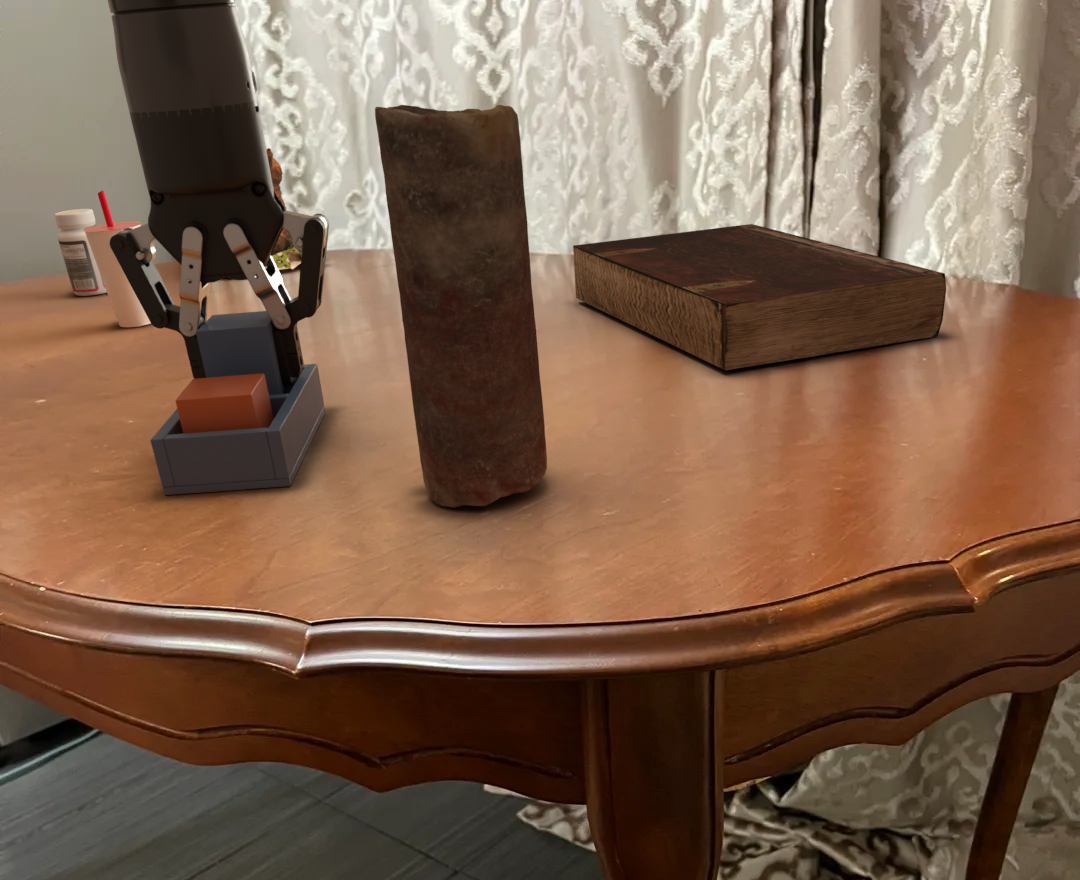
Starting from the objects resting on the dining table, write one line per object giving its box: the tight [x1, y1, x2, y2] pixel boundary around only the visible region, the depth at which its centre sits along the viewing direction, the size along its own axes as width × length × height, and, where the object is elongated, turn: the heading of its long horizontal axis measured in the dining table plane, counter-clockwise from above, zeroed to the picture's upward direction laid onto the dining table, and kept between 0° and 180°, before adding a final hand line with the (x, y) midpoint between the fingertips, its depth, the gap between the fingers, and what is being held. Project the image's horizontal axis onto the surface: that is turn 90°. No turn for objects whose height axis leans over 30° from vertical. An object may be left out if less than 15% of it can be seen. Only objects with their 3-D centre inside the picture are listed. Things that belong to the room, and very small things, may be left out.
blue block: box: [196, 310, 286, 395], centre depth 75 cm, size 5×5×5 cm
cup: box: [83, 190, 151, 328], centre depth 107 cm, size 5×5×12 cm
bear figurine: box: [256, 148, 302, 277], centre depth 129 cm, size 14×15×12 cm
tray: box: [150, 363, 326, 496], centre depth 73 cm, size 8×15×4 cm, turn 1°
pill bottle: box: [54, 208, 107, 297], centre depth 123 cm, size 5×5×8 cm
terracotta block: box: [175, 373, 274, 434], centre depth 70 cm, size 5×5×5 cm
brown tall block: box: [374, 104, 548, 508], centre depth 60 cm, size 8×7×20 cm
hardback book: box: [572, 223, 947, 371], centre depth 94 cm, size 29×19×5 cm, turn 20°
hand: (252, 384), depth 76 cm, fingers closed on blue block, 4 cm apart
